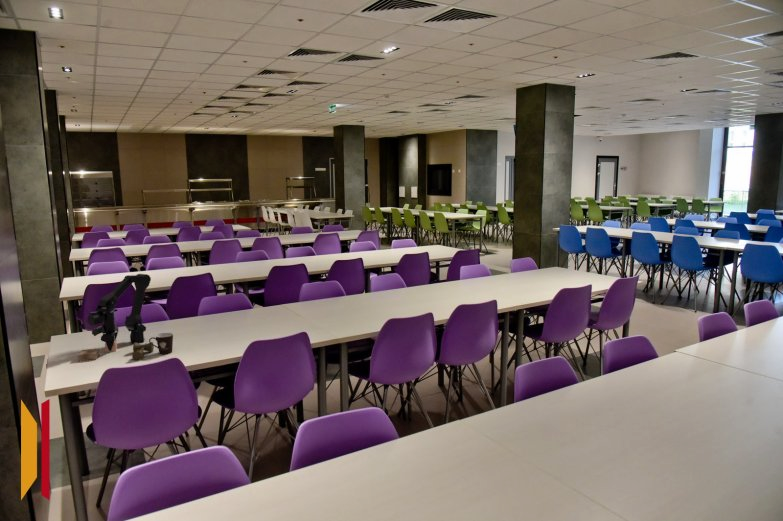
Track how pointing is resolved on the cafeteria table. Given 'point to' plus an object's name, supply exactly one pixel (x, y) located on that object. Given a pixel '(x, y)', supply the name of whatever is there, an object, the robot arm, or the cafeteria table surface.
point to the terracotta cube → (112, 347)
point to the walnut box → (88, 354)
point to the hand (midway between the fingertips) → (111, 348)
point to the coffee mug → (164, 342)
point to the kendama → (141, 350)
